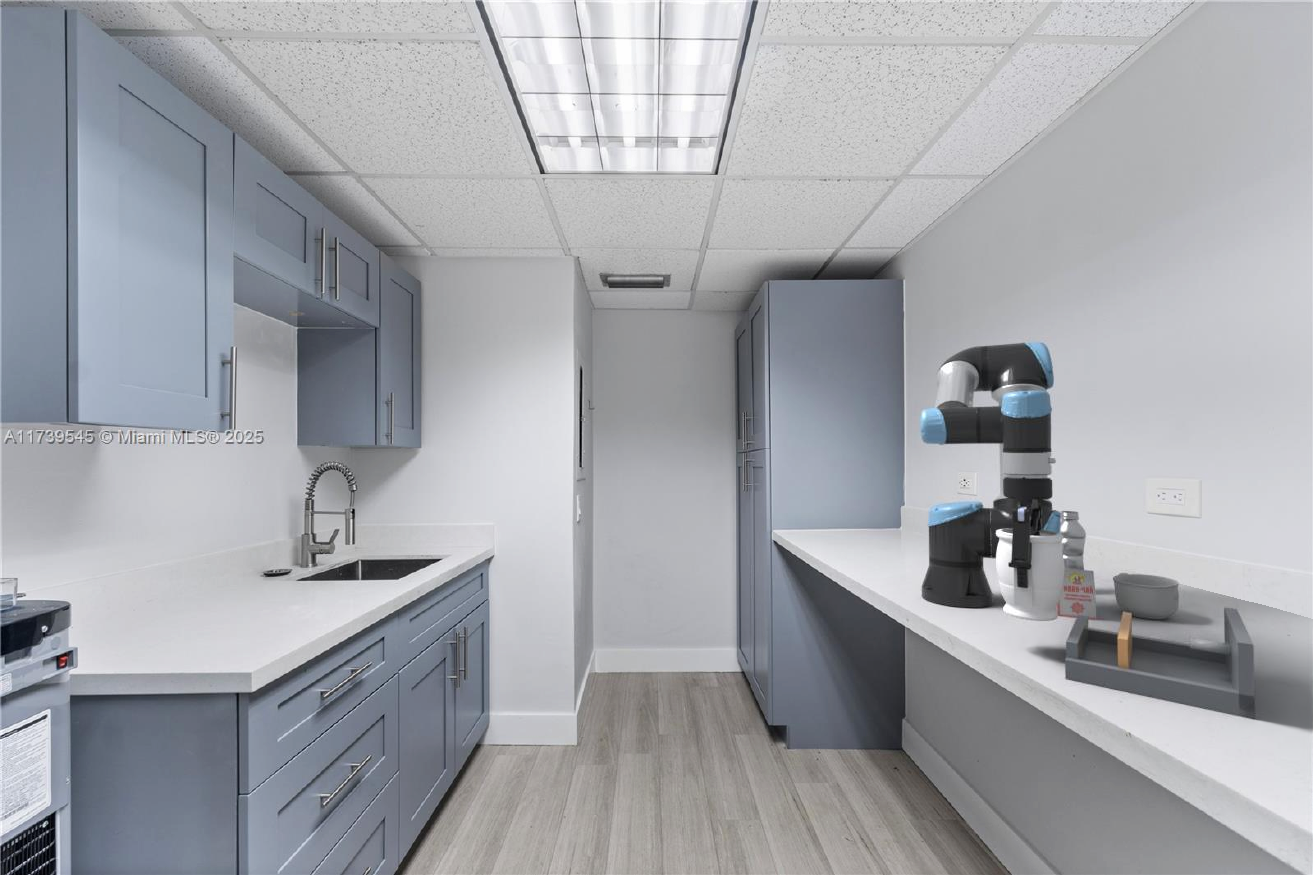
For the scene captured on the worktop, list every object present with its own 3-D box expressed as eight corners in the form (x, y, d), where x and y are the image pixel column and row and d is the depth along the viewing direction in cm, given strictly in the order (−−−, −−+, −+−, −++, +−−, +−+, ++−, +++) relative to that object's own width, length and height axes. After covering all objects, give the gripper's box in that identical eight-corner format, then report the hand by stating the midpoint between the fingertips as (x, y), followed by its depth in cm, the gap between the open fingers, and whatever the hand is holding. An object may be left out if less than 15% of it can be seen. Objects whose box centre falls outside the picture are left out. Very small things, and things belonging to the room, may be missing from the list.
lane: (1065, 678, 92) (1064, 615, 92) (1079, 642, 108) (1078, 588, 108) (1254, 719, 78) (1253, 644, 78) (1238, 670, 94) (1236, 608, 95)
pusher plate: (1118, 677, 89) (1117, 638, 89) (1123, 645, 103) (1122, 611, 103) (1128, 679, 88) (1127, 639, 88) (1132, 647, 102) (1131, 613, 102)
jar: (1077, 625, 98) (1075, 537, 98) (1010, 622, 100) (1008, 536, 100) (1048, 607, 108) (1046, 528, 109) (988, 605, 111) (986, 527, 111)
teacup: (1190, 625, 118) (1189, 586, 118) (1125, 620, 121) (1124, 582, 122) (1158, 607, 131) (1157, 571, 131) (1100, 603, 134) (1099, 568, 135)
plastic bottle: (1048, 588, 148) (1046, 510, 148) (1072, 587, 149) (1071, 510, 149) (1068, 595, 141) (1067, 513, 142) (1093, 594, 142) (1092, 513, 142)
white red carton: (1054, 611, 128) (1053, 566, 128) (1092, 615, 125) (1091, 569, 125) (1057, 616, 125) (1056, 569, 125) (1096, 620, 122) (1095, 572, 122)
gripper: (1042, 480, 93) (1044, 617, 93) (1060, 474, 111) (1062, 590, 110) (989, 478, 98) (991, 609, 98) (1014, 473, 116) (1016, 584, 115)
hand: (1029, 599), depth 104 cm, fingers closed on jar, 10 cm apart
